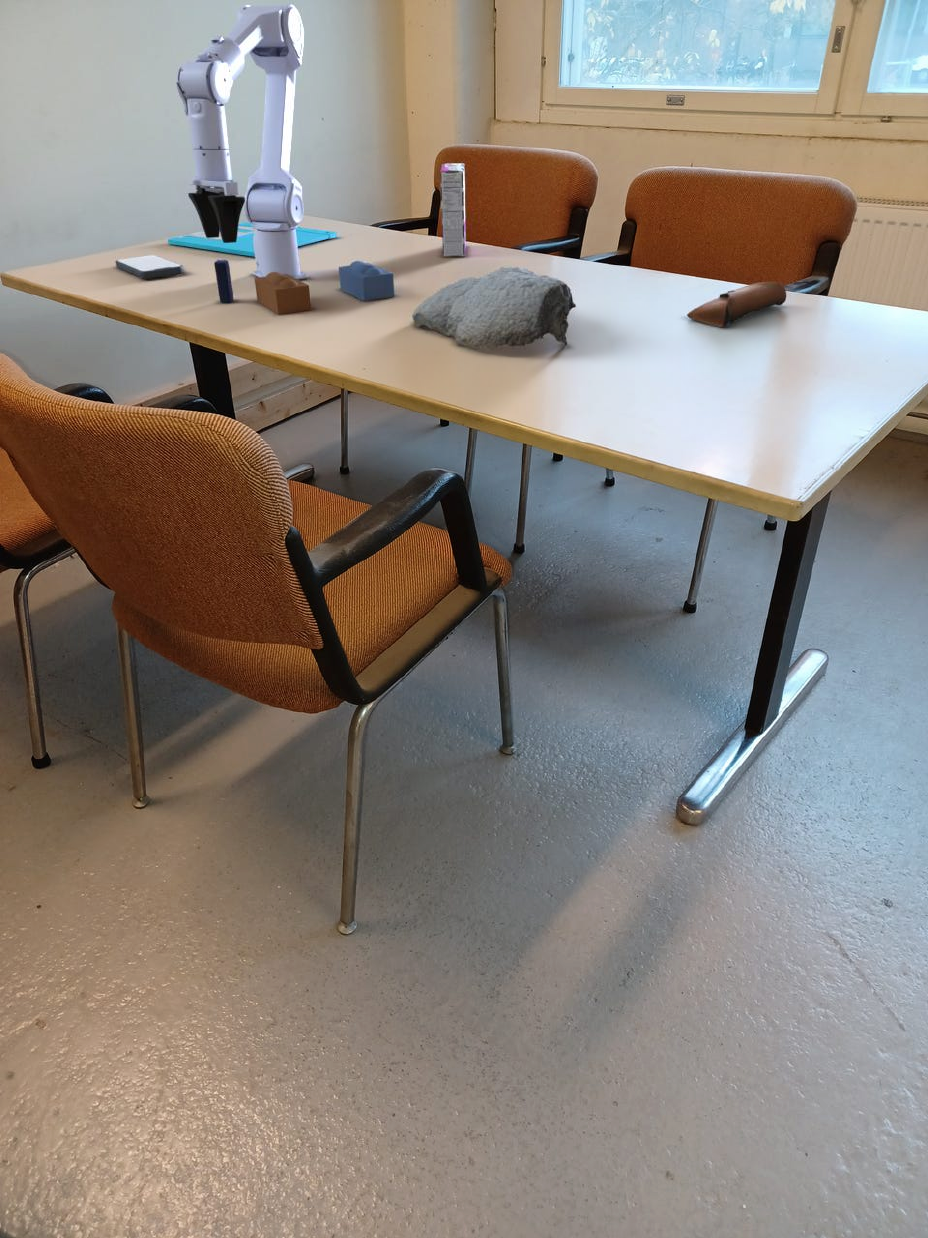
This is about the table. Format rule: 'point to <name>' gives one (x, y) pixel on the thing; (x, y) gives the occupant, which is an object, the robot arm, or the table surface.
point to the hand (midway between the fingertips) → (221, 239)
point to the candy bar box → (453, 209)
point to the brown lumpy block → (282, 293)
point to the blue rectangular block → (366, 281)
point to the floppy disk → (245, 239)
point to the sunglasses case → (739, 303)
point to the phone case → (149, 266)
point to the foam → (499, 309)
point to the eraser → (224, 281)
